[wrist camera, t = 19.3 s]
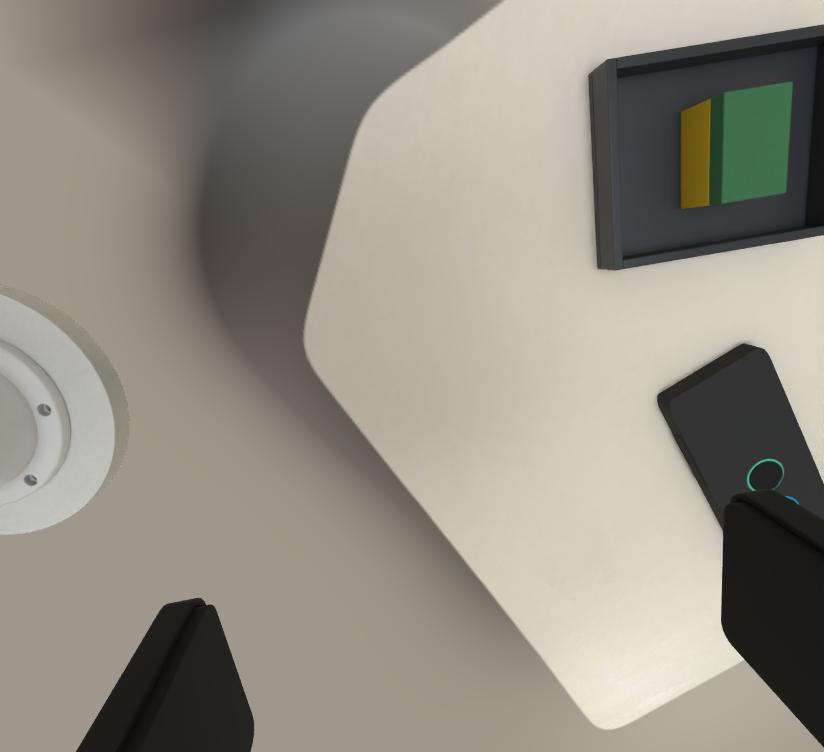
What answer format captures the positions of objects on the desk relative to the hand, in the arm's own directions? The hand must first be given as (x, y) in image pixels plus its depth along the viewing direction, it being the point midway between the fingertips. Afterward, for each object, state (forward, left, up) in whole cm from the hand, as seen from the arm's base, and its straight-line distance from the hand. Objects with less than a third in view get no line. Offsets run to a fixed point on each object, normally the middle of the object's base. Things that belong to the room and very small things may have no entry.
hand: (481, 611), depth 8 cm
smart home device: (+26, -15, -26) cm, 40 cm away
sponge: (+22, +9, -25) cm, 35 cm away
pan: (+22, +9, -26) cm, 35 cm away
